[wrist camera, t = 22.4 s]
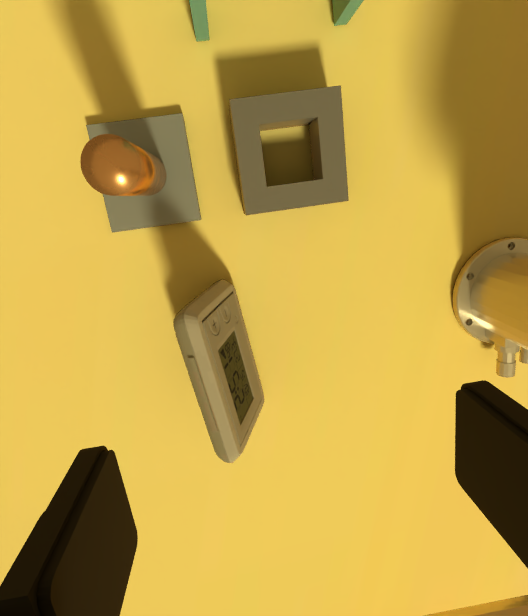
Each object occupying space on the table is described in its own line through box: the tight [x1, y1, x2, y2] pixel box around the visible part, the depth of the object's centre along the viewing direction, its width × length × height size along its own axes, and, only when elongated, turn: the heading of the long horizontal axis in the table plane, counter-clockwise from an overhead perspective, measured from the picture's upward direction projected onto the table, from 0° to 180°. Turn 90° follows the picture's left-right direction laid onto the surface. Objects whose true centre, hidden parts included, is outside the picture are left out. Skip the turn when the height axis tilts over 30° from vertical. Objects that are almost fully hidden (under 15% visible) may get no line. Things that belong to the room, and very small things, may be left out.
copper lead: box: [81, 134, 167, 196], centre depth 33 cm, size 4×4×12 cm
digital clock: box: [174, 279, 264, 463], centre depth 40 cm, size 16×9×11 cm, turn 2°
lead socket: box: [229, 86, 348, 215], centre depth 38 cm, size 10×10×4 cm
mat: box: [86, 113, 201, 232], centre depth 39 cm, size 10×9×1 cm
